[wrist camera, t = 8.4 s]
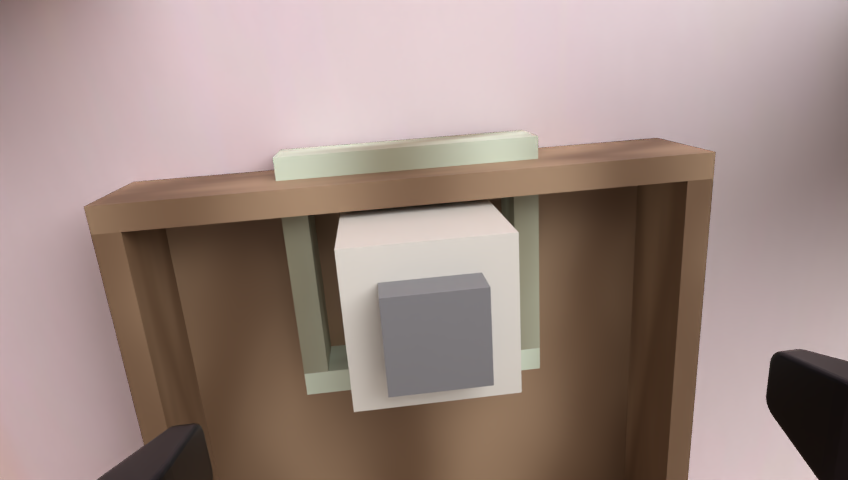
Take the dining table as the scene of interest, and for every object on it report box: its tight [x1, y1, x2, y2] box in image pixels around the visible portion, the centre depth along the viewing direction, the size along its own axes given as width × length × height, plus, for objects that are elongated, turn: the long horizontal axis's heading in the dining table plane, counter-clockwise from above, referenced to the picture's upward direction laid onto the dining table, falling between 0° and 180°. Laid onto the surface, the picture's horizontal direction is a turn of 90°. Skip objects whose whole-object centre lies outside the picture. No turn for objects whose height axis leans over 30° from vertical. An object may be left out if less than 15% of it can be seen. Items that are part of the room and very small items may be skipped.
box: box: [84, 130, 716, 480], centre depth 20 cm, size 18×17×4 cm
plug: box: [334, 199, 522, 412], centre depth 17 cm, size 4×4×7 cm
